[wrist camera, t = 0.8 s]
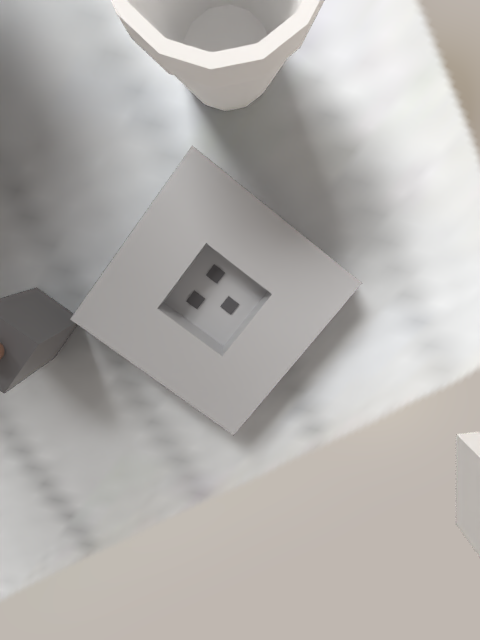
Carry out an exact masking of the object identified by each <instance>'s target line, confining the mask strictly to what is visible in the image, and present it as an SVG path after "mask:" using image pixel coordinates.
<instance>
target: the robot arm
mask: <svg viewBox="0 0 480 640" xmlns="http://www.w3.org/2000/svg"><path fill="white" fill-rule="evenodd" d="M456 525H457V527H458V528H459V529H460V531H461V532H462V534H463V535H464V536H465V538H466V539H467V541H468V542H469V543H470V545H471V546H472V548H473V549H474V551H475V552H476V553H477V555H478V556H479V557H480V432H472V433H463V434H456Z"/></svg>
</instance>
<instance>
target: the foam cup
mask: <svg viewBox="0 0 480 640" xmlns="http://www.w3.org/2000/svg"><path fill="white" fill-rule="evenodd" d="M111 1H112V4H113V6H114V8H115V11H116V13H117V15H118V16H119V18H120V20H121V21H122V23H123V25H124V26H125V28H126V30H127V32H128V33H129V35H130V37H131V38H132V39H133V40H134V41H135V42H136V43H137V44H138V45H139V46H140V47H141V48H142V49H143V50H144V51H145V52H146V53H147V54H148V55H150V56H151V57H152V58H153V59H154V60H155V61H156V62H157V63H158V64H159V65H160V66H161V67H162V68H163V69H164V70H165V71H166V72H168V73H169V74H171V75H174V76H176V77H177V78H178V79H179V80H180V81H181V82H182V83H183V84H184V85H185V86H186V87H187V88H188V89H189V90H190V91H191V92H192V93H193V94H194V95H195V96H196V97H197V98H198V99H199V100H200V101H201V102H202V103H203V104H205V105H207V106H210V107H213V108H216V109H220V110H223V111H229V110H234V109H239V108H244V107H247V106H248V105H249V104H250V103H252V102H253V101H254V100H256V99H257V98H258V97H259V96H261V95H262V94H263V93H264V92H265V90H266V89H267V87H268V86H269V84H270V83H271V81H272V80H273V79H274V77H275V76H276V74H277V73H278V71H279V70H280V68H281V67H282V65H283V64H284V63H285V61H286V60H287V58H288V57H289V56H290V55H292V54H293V53H294V52H296V51H297V50H298V49H299V48H300V47H301V45H302V43H303V41H304V39H305V37H306V35H307V33H308V32H309V30H310V28H311V26H312V24H313V22H314V20H315V18H316V16H317V14H318V12H319V10H320V8H321V6H322V4H323V2H324V1H325V0H111Z"/></svg>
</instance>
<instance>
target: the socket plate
mask: <svg viewBox="0 0 480 640" xmlns="http://www.w3.org/2000/svg"><path fill="white" fill-rule="evenodd" d="M361 284H362V282H360V281H359V280H358V279H357V278H355V277H354V276H353V275H352V274H350V273H349V272H348V271H347V270H346V269H344V268H343V267H342V266H341V265H339V264H338V263H337V262H336V261H334V260H333V259H332V258H331V257H329V256H328V255H327V254H326V253H325V252H323V251H322V250H321V249H320V248H318V247H317V246H316V245H315V244H313V243H312V242H311V241H310V240H308V239H307V238H306V237H305V236H304V235H302V234H301V233H300V232H299V231H297V230H296V229H295V228H294V227H292V226H291V225H290V224H289V223H287V222H286V221H285V220H284V219H283V218H281V217H280V216H279V215H278V214H276V213H275V212H274V211H273V210H271V209H270V208H269V207H268V206H266V205H265V204H264V203H263V202H262V201H260V200H259V199H258V198H257V197H255V196H254V195H253V194H252V193H250V192H249V191H248V190H247V189H245V188H244V187H243V186H242V185H240V184H239V183H238V182H237V181H236V180H234V179H233V178H232V177H231V176H229V175H228V174H227V173H226V172H224V171H223V170H222V169H221V168H219V167H218V166H217V165H216V164H215V163H213V162H212V161H211V160H210V159H208V158H207V157H206V156H205V155H203V154H202V153H201V152H200V151H198V150H197V149H196V148H195V147H194V146H191V148H190V149H189V151H188V152H187V154H186V155H185V156H184V158H183V159H182V161H181V162H180V163H179V165H178V166H177V168H176V169H175V171H174V172H173V173H172V175H171V176H170V178H169V179H168V181H167V182H166V183H165V185H164V186H163V188H162V189H161V191H160V192H159V193H158V195H157V196H156V198H155V199H154V200H153V202H152V203H151V205H150V206H149V208H148V209H147V210H146V212H145V213H144V215H143V216H142V218H141V219H140V220H139V222H138V223H137V225H136V226H135V228H134V229H133V230H132V232H131V233H130V235H129V236H128V237H127V239H126V240H125V242H124V243H123V245H122V246H121V247H120V249H119V250H118V252H117V253H116V255H115V256H114V257H113V259H112V260H111V262H110V263H109V265H108V266H107V267H106V269H105V270H104V272H103V273H102V274H101V276H100V277H99V279H98V280H97V282H96V283H95V284H94V286H93V287H92V289H91V290H90V292H89V293H88V294H87V296H86V297H85V299H84V300H83V302H82V303H81V304H80V306H79V307H78V309H77V310H76V311H75V313H74V314H73V316H72V317H71V319H70V320H72V321H73V322H74V323H76V324H77V325H79V326H80V327H81V328H83V329H84V330H86V331H87V332H89V333H90V334H91V335H93V336H94V337H96V338H97V339H98V340H100V341H101V342H103V343H104V344H105V345H107V346H108V347H110V348H111V349H112V350H114V351H115V352H117V353H118V354H119V355H121V356H122V357H124V358H125V359H126V360H128V361H129V362H131V363H132V364H134V365H135V366H136V367H138V368H139V369H141V370H142V371H143V372H145V373H146V374H148V375H149V376H150V377H152V378H153V379H155V380H156V381H157V382H159V383H160V384H162V385H163V386H164V387H166V388H167V389H169V390H170V391H171V392H173V393H174V394H176V395H177V396H179V397H180V398H181V399H183V400H184V401H186V402H187V403H188V404H190V405H191V406H193V407H194V408H195V409H197V410H198V411H200V412H201V413H202V414H204V415H205V416H207V417H208V418H209V419H211V420H212V421H214V422H215V423H216V424H218V425H219V426H221V427H222V428H224V429H225V430H226V431H228V432H229V433H231V434H232V435H233V436H234V434H235V433H236V432H237V431H238V430H239V428H240V427H241V426H242V425H243V424H244V423H245V421H246V420H247V419H248V418H249V417H250V415H251V414H252V413H253V412H254V411H255V409H256V408H257V407H258V406H259V405H260V404H261V402H262V401H263V400H264V399H265V398H266V396H267V395H268V394H269V393H270V392H271V391H272V389H273V388H274V387H275V386H276V385H277V383H278V382H279V381H280V380H281V379H282V377H283V376H284V375H285V374H286V373H287V372H288V370H289V369H290V368H291V367H292V366H293V364H294V363H295V362H296V361H297V360H298V359H299V357H300V356H301V355H302V354H303V353H304V351H305V350H306V349H307V348H308V347H309V345H310V344H311V343H312V342H313V341H314V340H315V338H316V337H317V336H318V335H319V334H320V332H321V331H322V330H323V329H324V328H325V327H326V325H327V324H328V323H329V322H330V321H331V319H332V318H333V317H334V316H335V315H336V314H337V312H338V311H339V310H340V309H341V308H342V306H343V305H344V304H345V303H346V302H347V300H348V299H349V298H350V297H351V296H352V295H353V293H354V292H355V291H356V290H357V289H358V287H359V286H360V285H361Z"/></svg>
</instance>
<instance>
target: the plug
mask: <svg viewBox="0 0 480 640" xmlns="http://www.w3.org/2000/svg"><path fill="white" fill-rule="evenodd" d="M72 316H73V313H72V312H70V311H69V310H68V309H66V308H65V307H63V306H62V305H61V304H59V303H58V302H56V301H55V300H54V299H52V298H51V297H49V296H48V295H47V294H45V293H44V292H42V291H41V290H40V289H38V288H37V287H36V288H33V289H30V290H27V291H23V292H20V293H17V294H14V295H10V296H7V297H4V298H0V391H1V392H3V393H6V392H7V391H9V390H10V389H11V388H13V387H14V386H16V385H17V384H18V383H20V382H21V381H23V380H24V379H25V378H27V377H28V376H30V375H31V374H33V373H34V372H35V371H37V370H38V369H40V368H41V367H42V366H44V365H45V364H47V363H48V362H49V361H51V360H52V359H53V358H54V357H55V356H56V354H57V353H58V351H59V350H60V349H61V347H62V346H63V344H64V343H65V342H66V340H67V339H68V337H69V336H70V335H71V333H72V332H73V330H74V329H75V327H76V326H77V324H76V323H74V322H73V321H72V320H70V319H71V317H72Z"/></svg>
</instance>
